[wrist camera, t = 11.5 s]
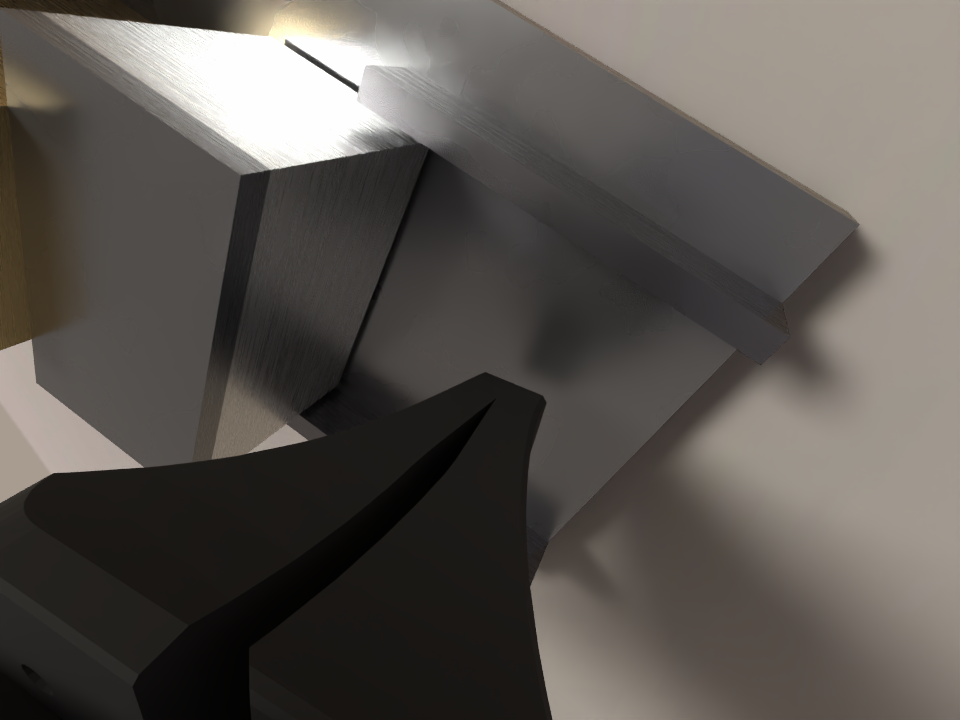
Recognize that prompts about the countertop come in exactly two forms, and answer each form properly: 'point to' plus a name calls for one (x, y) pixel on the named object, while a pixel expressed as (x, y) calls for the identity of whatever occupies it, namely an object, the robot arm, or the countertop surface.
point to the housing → (3, 274)
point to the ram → (193, 226)
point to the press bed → (545, 231)
